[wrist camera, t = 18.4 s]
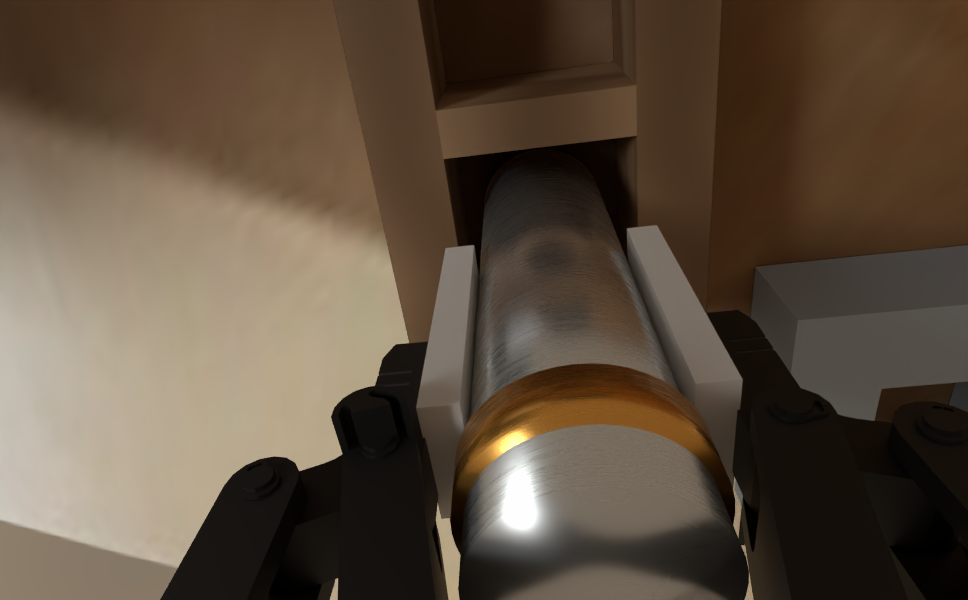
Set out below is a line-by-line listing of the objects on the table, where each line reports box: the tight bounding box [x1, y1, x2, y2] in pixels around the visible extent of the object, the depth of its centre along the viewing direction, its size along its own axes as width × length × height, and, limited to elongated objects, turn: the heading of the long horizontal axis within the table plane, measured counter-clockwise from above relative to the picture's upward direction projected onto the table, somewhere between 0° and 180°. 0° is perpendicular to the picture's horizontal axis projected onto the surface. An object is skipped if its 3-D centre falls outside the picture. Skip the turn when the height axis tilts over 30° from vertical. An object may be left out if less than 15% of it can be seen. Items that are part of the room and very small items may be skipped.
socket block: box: [735, 245, 968, 505], centre depth 25 cm, size 12×12×4 cm
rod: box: [450, 149, 749, 600], centre depth 15 cm, size 4×4×15 cm
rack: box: [333, 0, 722, 343], centre depth 20 cm, size 10×15×4 cm, turn 7°
